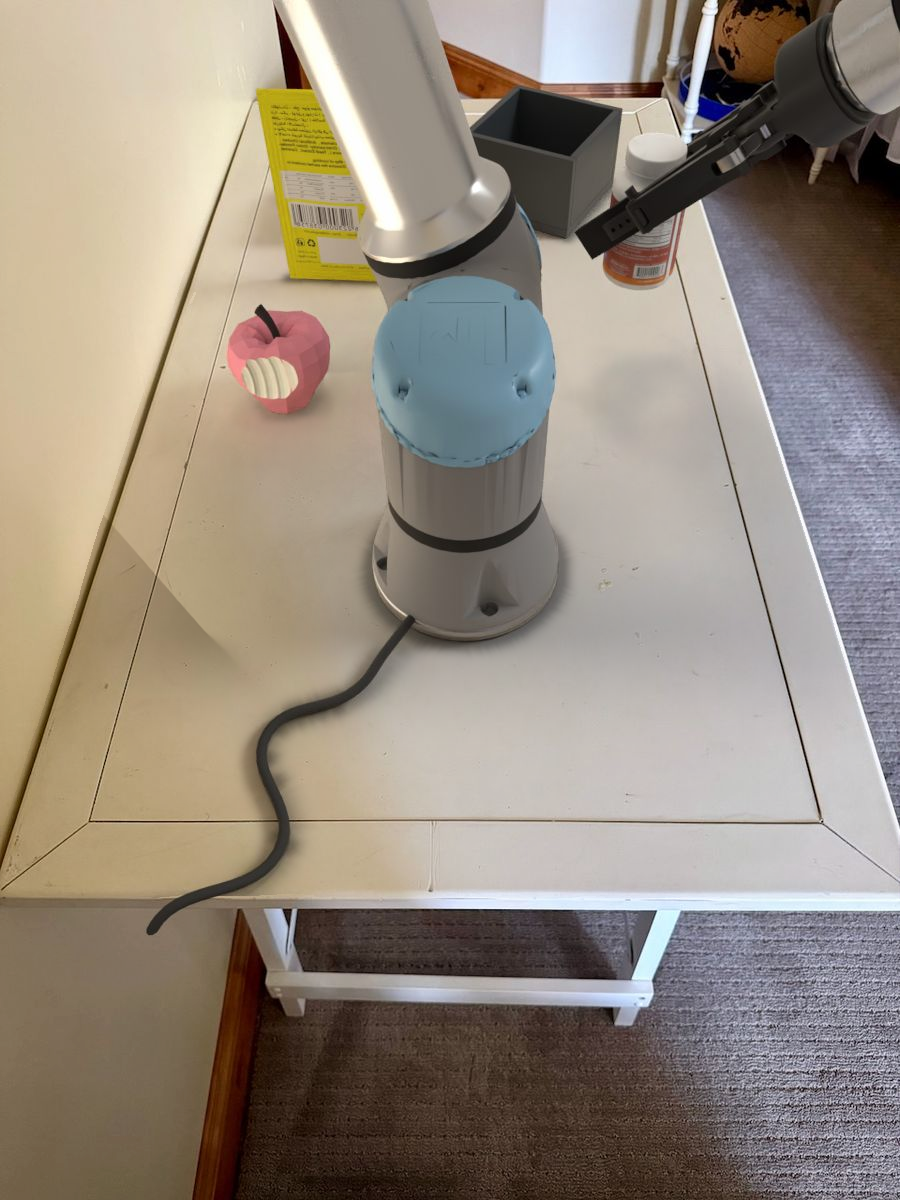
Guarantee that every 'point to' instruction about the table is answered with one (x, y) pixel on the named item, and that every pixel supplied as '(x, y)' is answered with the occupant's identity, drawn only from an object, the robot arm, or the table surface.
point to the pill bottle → (655, 252)
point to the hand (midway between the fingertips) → (604, 224)
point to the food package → (312, 189)
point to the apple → (279, 357)
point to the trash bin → (551, 153)
